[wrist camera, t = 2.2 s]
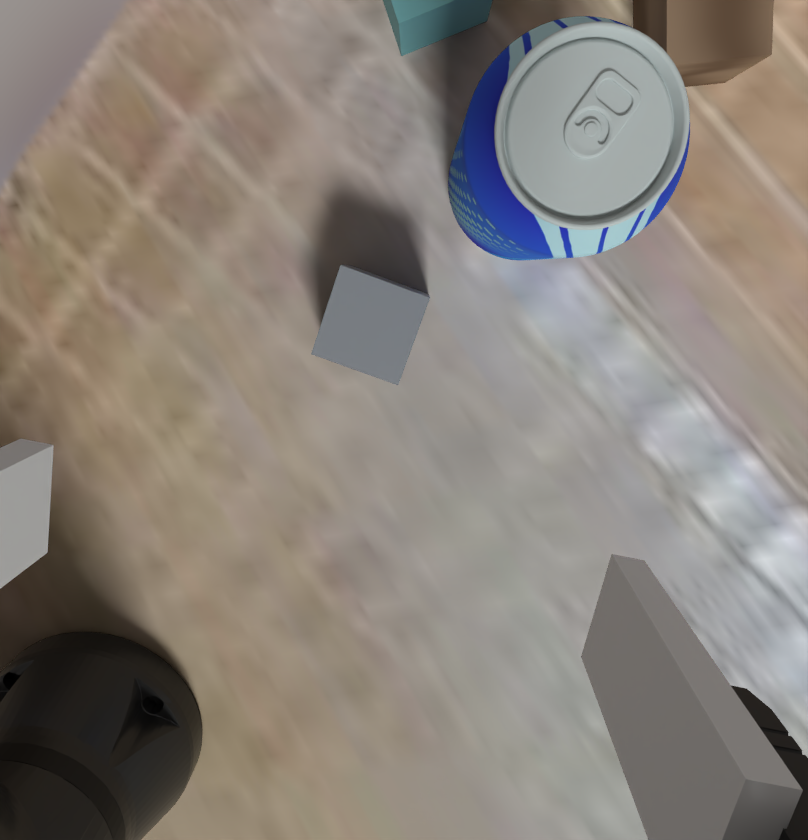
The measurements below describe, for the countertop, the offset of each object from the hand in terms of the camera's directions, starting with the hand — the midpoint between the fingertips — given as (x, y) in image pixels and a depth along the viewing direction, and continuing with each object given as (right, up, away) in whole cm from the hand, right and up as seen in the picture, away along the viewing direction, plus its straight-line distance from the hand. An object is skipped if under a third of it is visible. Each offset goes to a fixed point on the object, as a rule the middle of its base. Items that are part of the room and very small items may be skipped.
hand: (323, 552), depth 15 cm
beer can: (+9, +17, +23) cm, 29 cm away
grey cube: (0, +9, +25) cm, 26 cm away
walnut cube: (+17, +24, +21) cm, 36 cm away
